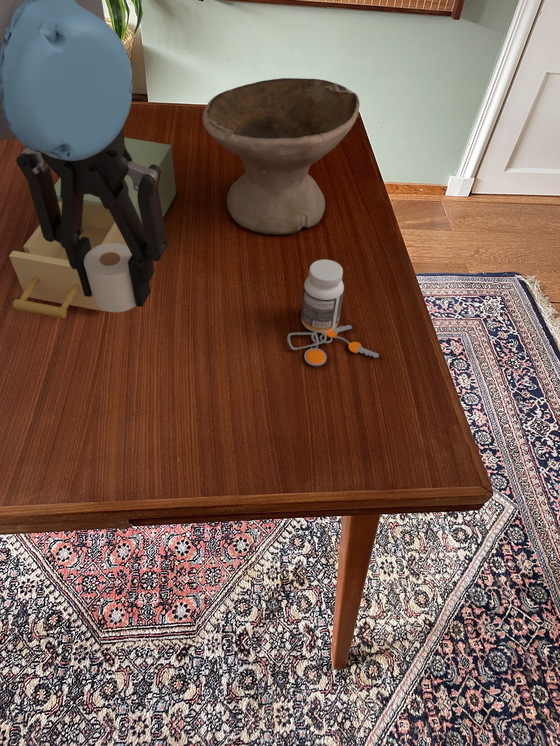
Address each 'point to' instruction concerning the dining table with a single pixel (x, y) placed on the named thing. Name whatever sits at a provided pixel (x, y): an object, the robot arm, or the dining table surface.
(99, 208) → the drawer
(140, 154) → the cabinet
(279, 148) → the bowl
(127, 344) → the dining table surface
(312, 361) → the key chain
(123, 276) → the paper roll
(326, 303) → the pill bottle
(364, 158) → the dining table surface
